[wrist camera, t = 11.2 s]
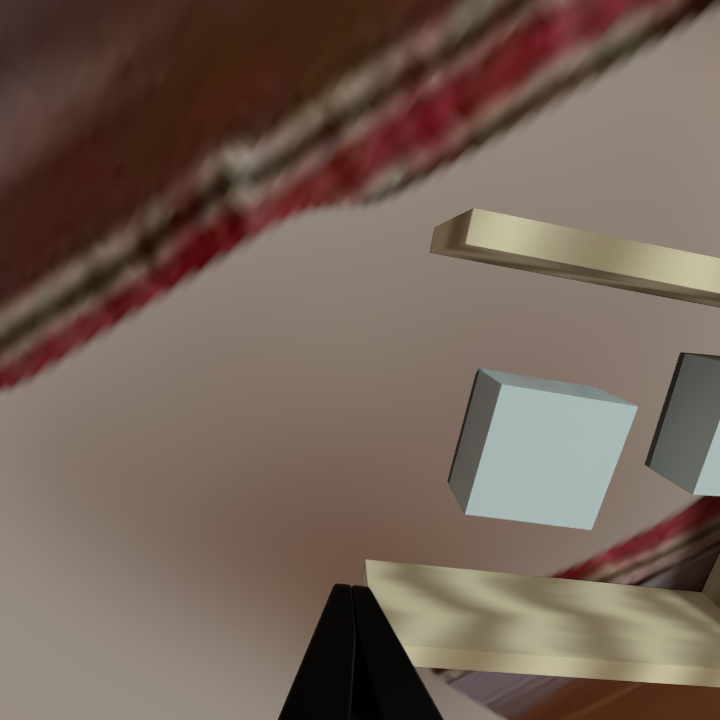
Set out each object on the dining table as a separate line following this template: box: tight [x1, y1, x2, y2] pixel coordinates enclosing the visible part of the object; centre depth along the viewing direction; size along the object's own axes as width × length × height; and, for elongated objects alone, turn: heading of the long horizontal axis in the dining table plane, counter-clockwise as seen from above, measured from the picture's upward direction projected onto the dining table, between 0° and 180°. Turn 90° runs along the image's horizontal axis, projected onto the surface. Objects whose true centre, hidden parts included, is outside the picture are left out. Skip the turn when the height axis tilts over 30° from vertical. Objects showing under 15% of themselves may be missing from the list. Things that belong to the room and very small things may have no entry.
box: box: [362, 208, 720, 687], centre depth 18 cm, size 24×20×5 cm
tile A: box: [447, 368, 638, 530], centre depth 19 cm, size 7×7×3 cm
